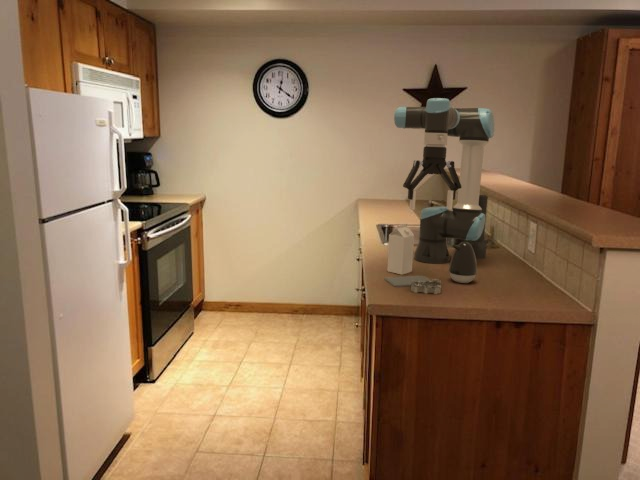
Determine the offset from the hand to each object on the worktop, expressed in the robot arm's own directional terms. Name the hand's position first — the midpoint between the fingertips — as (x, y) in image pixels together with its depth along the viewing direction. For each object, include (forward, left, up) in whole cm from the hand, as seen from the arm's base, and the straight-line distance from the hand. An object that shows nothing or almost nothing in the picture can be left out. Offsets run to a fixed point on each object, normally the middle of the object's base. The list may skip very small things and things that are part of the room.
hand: (430, 209), depth 182 cm
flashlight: (-46, -44, -29) cm, 70 cm away
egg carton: (0, 0, -29) cm, 29 cm away
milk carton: (-1, -26, -29) cm, 39 cm away
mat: (+1, -12, -29) cm, 31 cm away
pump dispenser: (-19, -9, -29) cm, 36 cm away
